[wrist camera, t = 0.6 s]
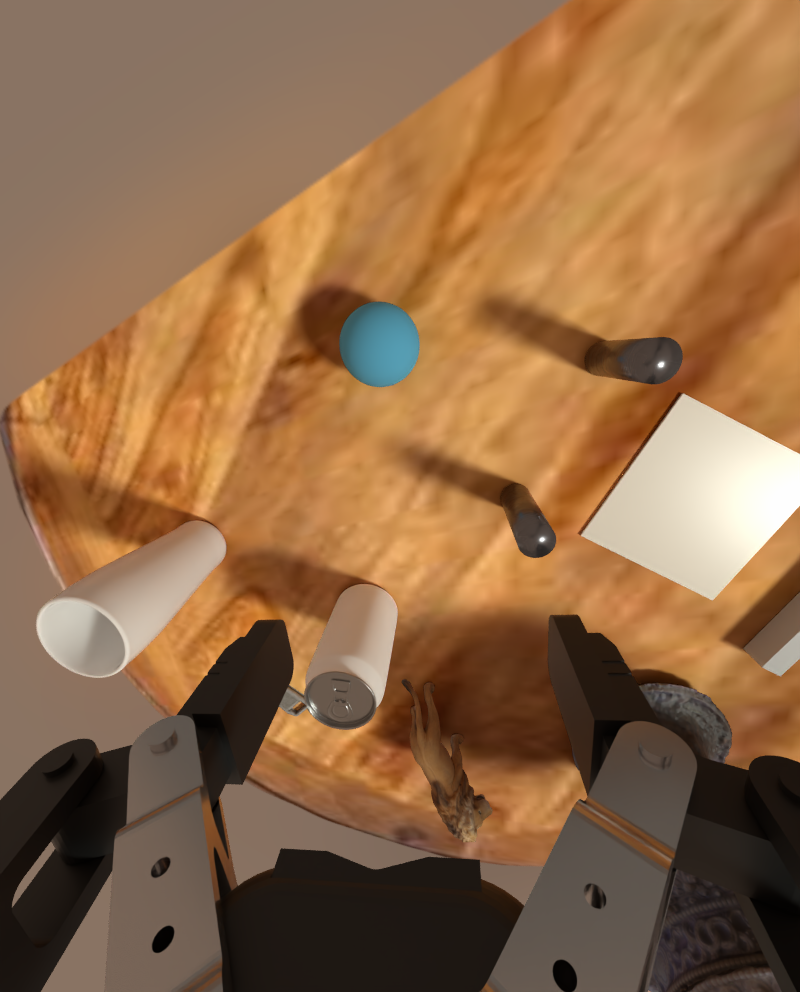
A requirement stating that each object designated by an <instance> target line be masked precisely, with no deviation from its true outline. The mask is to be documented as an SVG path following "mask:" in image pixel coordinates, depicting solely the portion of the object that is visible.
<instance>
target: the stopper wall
mask: <svg viewBox="0 0 800 992" xmlns="http://www.w3.org/2000/svg"><path fill="white" fill-rule="evenodd" d="M743 649H744V650H745V651H746V652H747V653H748V654H749V655H750V656H751V657H752V658H753V659H754V660H755V661H756V662H757V663H758V664H759V665H760V666H761V667H762V668H764V669H767V670H769V671H771V672H773V673H775V674H777V675H779V676H781V675H782V674H783V673H785V672H786V671H787V670H788V669H789V668H790V667H791V666H792V665H793V664H794V663H795V662H797V661H798V660H799V659H800V592H799V593H798V594H797V595H796V596H795V597H794V598H793V599H792V600H791V601H790V602H789V603H788V604H787V605H786V606H785V607H784V608H783V609H782V610H781V611H780V612H779V613H778V614H777V615H776V616H775V617H774V618H773V619H772V620H771V621H770V622H769V623H768V624H767V625H766V626H765V627H764V628H763V629H762V630H761V631H760V632H759V633H758V634H757V635H756V636H755V637H754V638H753V639H752V640H751V641H750V642H749V643H748V644H747V645H746V646H745V647H744V648H743Z"/></svg>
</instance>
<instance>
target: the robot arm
mask: <svg viewBox="0 0 800 992" xmlns="http://www.w3.org/2000/svg"><path fill="white" fill-rule="evenodd" d="M293 667H294V663H293V656H292V652H291V647H290V643H289V639H288V634H287V630H286V626H285V623H284V621H283V620H258V621H256V622H255V624H254V625H253V626H252V628H251V629H250V631H249V632H248V634H247V635H246V636H245V637H240V638H238V639H237V640H236V641H235V642H233V643H232V644H231V645H229V646H228V647H227V648H226V649H225V650H224V651H223V653H222V654H221V655H220V657H219V658H218V659H217V661H216V664H214V665H213V666H212V668H211V669H210V670H209V672H208V675H207V676H205V677H204V679H203V680H202V681H201V683H200V684H199V685H198V687H197V688H196V689H195V691H194V692H193V693H192V695H191V696H190V698H189V699H188V700H187V702H186V703H185V704H184V706H183V707H182V708H181V710H180V711H179V712H178V714H177V715H176V716H171V717H168V718H165V719H162V720H160V721H158V722H157V723H155V724H153V725H152V726H150V727H149V728H147V729H146V730H145V731H144V732H143V733H142V734H141V735H140V736H139V737H138V738H137V739H136V741H135V742H134V744H133V745H130V746H126V747H123V748H119V749H115V750H111V751H107V752H104V753H99V751H98V748H97V746H96V744H95V743H94V742H93V741H92V740H90V739H77V740H73V741H70V742H67V743H65V744H63V745H61V746H59V747H57V748H55V749H53V750H52V751H50V752H49V753H47V754H46V755H44V756H43V757H42V758H41V759H39V760H38V761H37V762H36V763H35V764H34V765H33V766H32V767H31V768H30V769H29V770H28V771H27V772H26V773H25V774H24V775H23V776H22V777H21V779H20V780H19V781H18V782H17V783H16V784H15V785H14V786H13V787H12V788H11V789H10V790H9V791H8V792H7V794H6V795H5V796H4V797H3V798H2V799H1V800H0V992H41V990H42V988H43V987H44V985H45V983H46V982H47V980H48V978H49V977H50V975H51V973H52V972H53V970H54V968H55V966H56V965H57V963H58V961H59V959H60V958H61V956H62V955H63V953H64V951H65V950H66V948H67V946H68V944H69V943H70V941H71V939H72V938H73V936H74V934H75V932H76V931H77V929H78V927H79V926H80V924H81V922H82V921H83V919H84V917H85V916H86V914H87V912H88V911H89V909H90V907H91V906H92V904H93V902H94V900H95V899H96V897H97V895H98V894H99V892H100V890H101V889H102V887H103V885H104V884H105V882H106V880H107V878H108V877H109V875H110V873H111V872H112V885H111V901H110V916H109V931H108V946H107V961H106V977H105V992H648V989H649V984H650V980H651V975H652V970H653V966H654V962H655V957H656V953H657V949H658V945H659V941H660V937H661V933H662V929H663V925H664V921H665V917H666V913H667V909H668V905H669V901H670V897H671V893H672V889H673V885H674V881H675V877H676V873H677V869H678V870H680V871H683V872H686V873H688V874H691V875H693V876H696V877H698V878H701V879H704V880H706V881H709V882H711V883H714V884H716V885H719V886H722V887H724V888H727V889H729V890H732V891H733V892H734V894H735V896H736V898H737V900H738V902H739V904H740V906H741V908H742V910H743V912H744V914H745V917H746V919H747V921H748V923H749V925H750V927H751V929H752V931H753V933H754V935H755V937H756V939H757V941H758V944H759V946H760V948H761V950H762V952H763V954H764V956H765V958H766V960H767V962H768V964H769V966H770V969H771V971H772V973H773V975H774V977H775V979H776V981H777V983H778V985H779V987H780V989H781V991H782V992H800V763H799V762H797V761H794V760H791V759H788V758H784V757H780V756H761V757H758V758H756V759H754V760H753V761H752V762H751V764H750V766H749V770H745V769H742V768H738V767H734V766H731V765H727V764H724V763H720V762H717V761H713V760H710V759H707V758H704V757H702V756H699V755H697V754H695V753H693V752H692V750H691V749H690V747H689V746H688V745H687V744H686V743H685V742H684V741H683V740H682V739H681V738H680V737H679V736H678V735H676V734H675V733H673V732H672V731H670V730H669V729H667V728H665V727H663V726H662V725H661V723H660V722H659V720H658V718H657V717H656V715H655V713H654V711H653V710H652V708H651V706H650V704H649V703H648V701H647V699H646V697H645V696H644V694H643V692H642V691H641V689H640V687H639V685H638V684H637V682H636V680H635V678H634V677H633V676H632V674H631V672H630V670H629V668H628V666H627V665H626V664H625V663H624V659H623V658H622V656H621V654H620V652H619V651H618V649H617V647H616V646H615V645H614V644H613V643H612V642H611V641H609V640H608V639H607V638H606V637H605V636H603V635H602V634H601V633H587V631H586V629H585V627H584V625H583V623H582V621H581V619H580V617H579V616H578V615H550V617H549V631H548V668H549V675H550V679H551V683H552V686H553V689H554V693H555V696H556V699H557V702H558V705H559V708H560V711H561V714H562V718H563V721H564V724H565V727H566V730H567V733H568V736H569V739H570V743H571V746H572V749H573V752H574V755H575V758H576V761H577V764H578V768H579V771H580V774H581V777H582V780H583V783H584V786H585V789H586V793H587V796H588V797H587V798H586V800H585V801H583V800H581V799H579V800H578V801H577V802H576V804H575V805H574V807H573V808H572V810H571V812H570V814H569V816H568V818H567V821H566V823H565V825H564V827H563V829H562V831H561V833H560V835H559V837H558V839H557V841H556V843H555V845H554V847H553V849H552V851H551V853H550V855H549V857H548V859H547V861H546V863H545V865H544V867H543V869H542V871H541V873H540V876H539V878H538V880H537V882H536V884H535V886H534V888H533V890H532V892H531V894H530V896H529V898H528V900H527V902H526V904H525V906H524V905H523V904H521V903H520V902H519V901H518V900H517V899H516V898H514V897H513V896H512V895H510V894H509V893H507V892H506V891H505V890H503V889H501V888H499V887H497V886H496V885H494V884H492V883H489V882H487V881H484V880H482V879H481V874H480V860H473V859H455V858H438V857H426V858H423V859H418V860H415V861H410V862H406V863H403V864H399V865H395V866H391V867H387V868H383V869H378V870H375V869H374V870H373V869H370V868H367V867H365V866H362V865H360V864H358V863H355V862H353V861H350V860H348V859H345V858H343V857H340V856H338V855H336V854H333V853H330V852H328V851H315V850H297V849H281V850H280V853H279V856H278V859H277V862H276V865H275V868H273V869H270V870H267V871H265V872H262V873H260V874H257V875H256V876H253V877H252V878H250V879H248V880H246V881H244V882H243V883H242V884H240V885H239V886H238V884H237V880H236V876H235V872H234V867H233V862H232V857H231V851H230V845H229V840H228V835H227V829H226V824H225V818H224V813H223V807H222V802H221V799H220V794H221V792H222V790H223V788H224V786H225V784H241V785H242V784H243V782H244V780H245V778H246V776H247V774H248V772H249V770H250V767H251V765H252V763H253V761H254V759H255V757H256V755H257V752H258V750H259V748H260V746H261V744H262V742H263V739H264V737H265V735H266V733H267V731H268V729H269V727H270V724H271V722H272V720H273V718H274V716H275V714H276V712H277V709H278V707H279V705H280V703H281V701H282V699H283V697H284V694H285V692H286V690H287V688H288V686H289V684H290V681H291V679H292V675H293ZM50 842H52V843H53V845H54V847H55V850H54V852H53V853H52V854H51V856H50V857H49V859H48V860H47V861H46V862H45V864H44V865H43V867H42V868H41V869H40V871H39V872H38V873H37V875H36V876H35V877H34V879H33V880H32V882H31V883H30V884H29V886H28V887H27V889H26V890H25V891H24V892H23V894H22V895H21V897H20V898H19V899H18V901H17V902H16V903H15V905H14V906H13V908H12V901H13V897H14V894H15V892H16V890H17V887H18V885H19V884H20V882H21V881H22V879H23V878H24V876H25V875H26V874H27V872H28V871H29V870H30V868H31V867H32V866H33V864H34V863H35V862H36V860H37V859H38V858H39V856H40V855H41V854H42V852H43V851H44V850H45V848H46V847H47V846H48V844H49V843H50Z"/></svg>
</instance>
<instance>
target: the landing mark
mask: <svg viewBox="0 0 800 992" xmlns="http://www.w3.org/2000/svg"><path fill="white" fill-rule="evenodd" d="M799 506H800V454H798V453H796V452H794V451H792V450H790V449H789V448H787V447H785V446H783V445H781V444H779V443H777V442H775V441H773V440H771V439H769V438H767V437H766V436H764V435H762V434H760V433H758V432H756V431H754V430H752V429H750V428H748V427H746V426H745V425H743V424H741V423H739V422H737V421H735V420H733V419H731V418H729V417H727V416H725V415H723V414H722V413H720V412H718V411H716V410H714V409H712V408H710V407H708V406H706V405H704V404H702V403H701V402H699V401H697V400H695V399H693V398H691V397H689V396H687V395H685V394H683V393H682V394H681V395H680V397H679V398H678V399H677V401H676V402H675V403H674V405H673V406H672V408H671V409H670V410H669V412H668V413H667V415H666V416H665V417H664V419H663V420H662V422H661V423H660V424H659V426H658V427H657V429H656V430H655V431H654V433H653V434H652V436H651V437H650V438H649V440H648V441H647V443H646V444H645V445H644V447H643V448H642V449H641V451H640V452H639V454H638V455H637V456H636V458H635V459H634V461H633V462H632V463H631V465H630V466H629V468H628V469H627V470H626V472H625V473H624V475H623V476H622V477H621V479H620V480H619V482H618V483H617V484H616V486H615V487H614V488H613V490H612V491H611V493H610V494H609V495H608V497H607V498H606V500H605V501H604V502H603V504H602V505H601V507H600V508H599V509H598V511H597V512H596V514H595V515H594V516H593V518H592V519H591V521H590V522H589V523H588V525H587V526H586V527H585V529H584V530H583V532H582V533H581V534H580V535H581V536H582V537H584V538H587V539H589V540H591V541H593V542H595V543H597V544H599V545H601V546H603V547H605V548H607V549H609V550H611V551H613V552H615V553H617V554H619V555H621V556H623V557H625V558H627V559H629V560H631V561H633V562H635V563H637V564H639V565H642V566H644V567H646V568H648V569H650V570H652V571H654V572H656V573H658V574H660V575H662V576H664V577H666V578H668V579H670V580H672V581H674V582H676V583H678V584H680V585H682V586H684V587H686V588H688V589H690V590H692V591H695V592H697V593H699V594H701V595H703V596H705V597H707V598H709V599H711V600H713V599H714V598H715V597H716V596H717V595H718V594H719V593H720V592H721V591H722V590H723V588H724V587H725V586H726V585H727V584H728V583H729V582H730V581H731V580H732V579H733V578H734V577H735V575H736V574H737V573H738V572H739V571H740V570H741V569H742V568H743V567H744V566H745V565H746V563H747V562H748V561H749V560H750V559H751V558H752V557H753V556H754V555H755V554H756V553H757V551H758V550H759V549H760V548H761V547H762V546H763V545H764V544H765V543H766V542H767V541H768V539H769V538H770V537H771V536H772V535H773V534H774V533H775V532H776V531H777V530H778V529H779V528H780V526H781V525H782V524H783V523H784V522H785V521H786V520H787V519H788V518H789V517H790V516H791V514H792V513H793V512H794V511H795V510H796V509H797V508H798V507H799Z"/></svg>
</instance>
